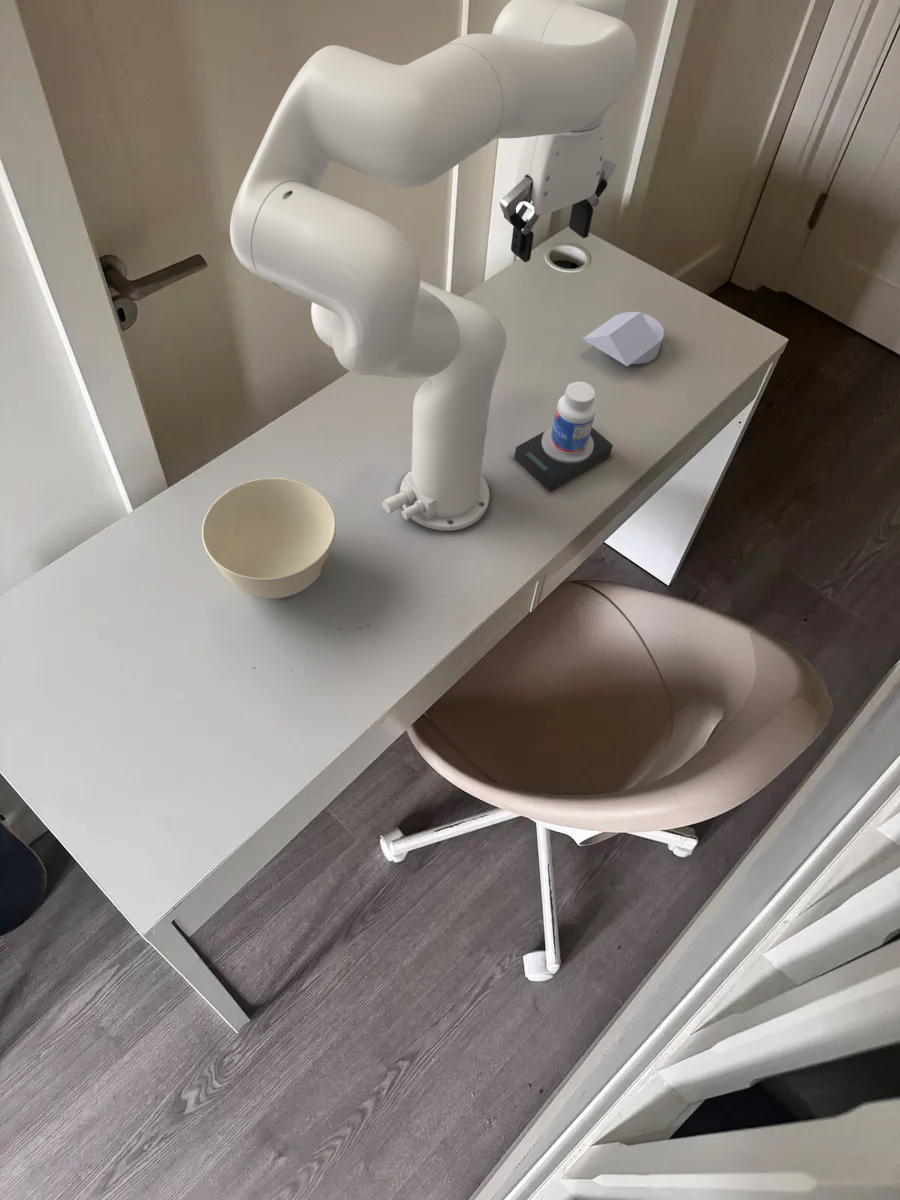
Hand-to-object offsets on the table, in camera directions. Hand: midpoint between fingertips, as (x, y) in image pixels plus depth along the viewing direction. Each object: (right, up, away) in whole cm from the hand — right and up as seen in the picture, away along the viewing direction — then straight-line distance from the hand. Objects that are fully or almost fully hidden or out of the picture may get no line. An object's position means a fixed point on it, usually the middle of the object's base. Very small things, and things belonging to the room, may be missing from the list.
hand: (549, 244), depth 110 cm
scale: (+4, -25, +17) cm, 30 cm away
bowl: (-35, -43, +2) cm, 55 cm away
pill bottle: (+4, -23, +14) cm, 28 cm away
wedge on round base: (+16, -5, +31) cm, 36 cm away
